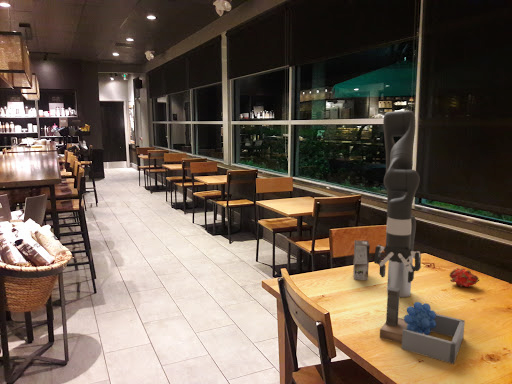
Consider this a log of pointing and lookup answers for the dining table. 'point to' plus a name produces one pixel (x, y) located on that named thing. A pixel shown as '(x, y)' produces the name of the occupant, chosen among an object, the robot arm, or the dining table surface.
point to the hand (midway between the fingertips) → (396, 279)
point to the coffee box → (361, 260)
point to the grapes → (420, 318)
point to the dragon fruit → (463, 277)
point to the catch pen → (436, 339)
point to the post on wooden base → (393, 318)
